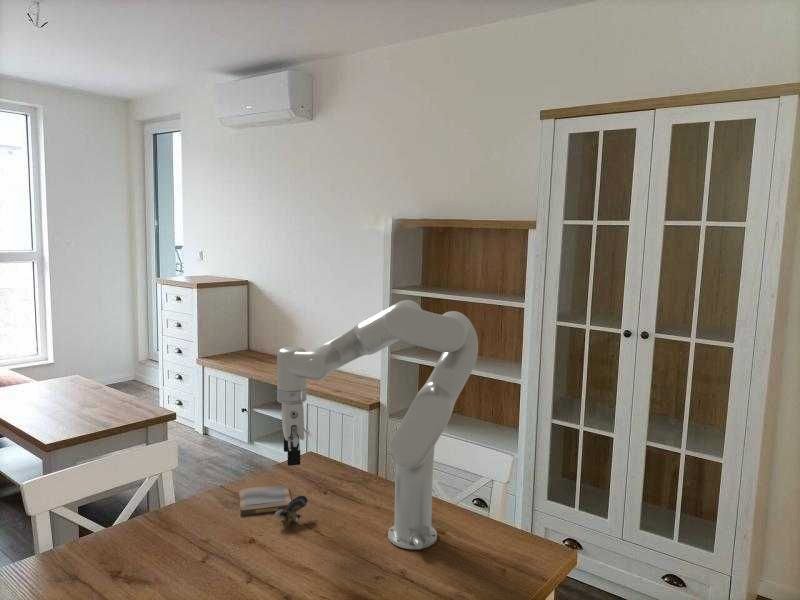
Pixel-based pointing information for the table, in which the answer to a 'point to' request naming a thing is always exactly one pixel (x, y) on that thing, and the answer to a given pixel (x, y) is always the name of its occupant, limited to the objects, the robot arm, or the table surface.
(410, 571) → the table surface
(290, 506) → the eagle figurine
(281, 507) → the wooden picture frame
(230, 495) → the table surface
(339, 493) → the table surface
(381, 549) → the table surface
